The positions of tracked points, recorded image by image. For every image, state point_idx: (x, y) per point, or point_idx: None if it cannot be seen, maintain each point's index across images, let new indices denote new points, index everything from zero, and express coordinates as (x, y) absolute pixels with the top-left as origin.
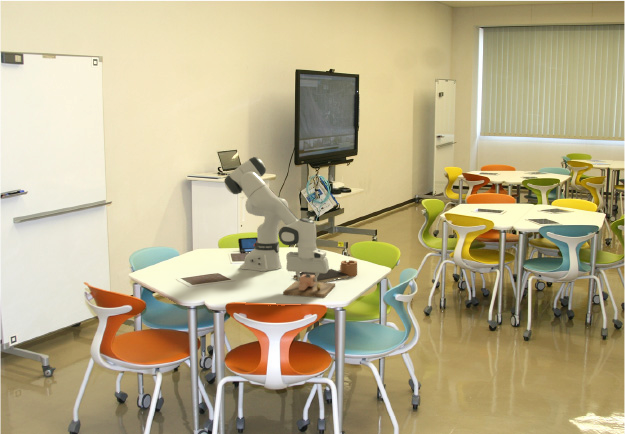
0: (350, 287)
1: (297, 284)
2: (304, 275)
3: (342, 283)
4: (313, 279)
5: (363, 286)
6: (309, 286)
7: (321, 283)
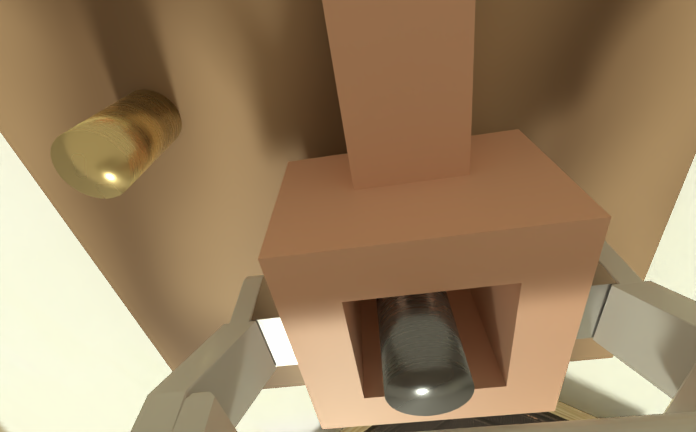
0: (64, 376)
1: None
2: (514, 374)
3: None
4: None
5: (7, 415)
6: None
7: None
